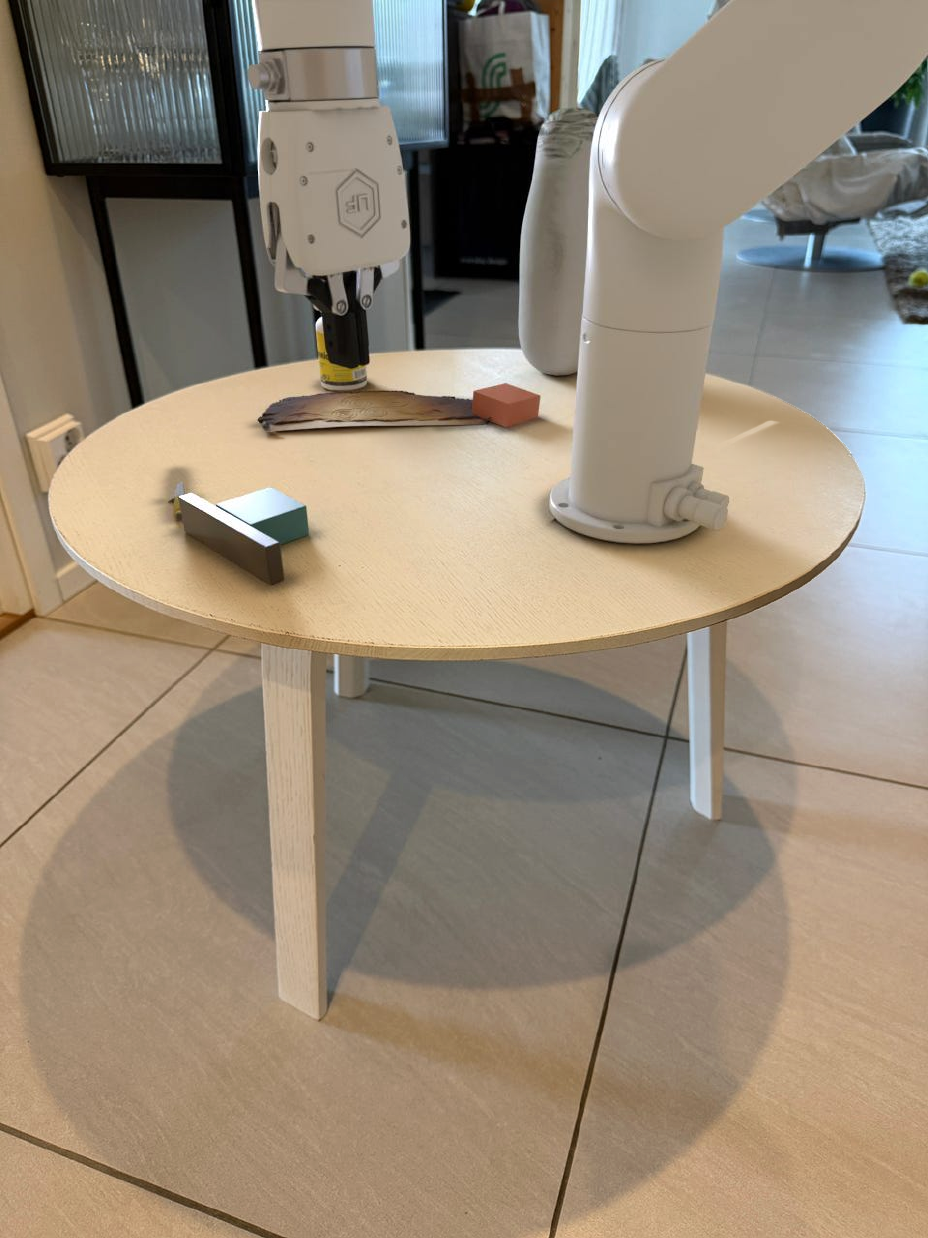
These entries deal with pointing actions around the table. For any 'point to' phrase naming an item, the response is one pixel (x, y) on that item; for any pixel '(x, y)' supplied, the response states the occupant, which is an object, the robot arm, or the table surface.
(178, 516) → the dagger
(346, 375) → the supplement bottle
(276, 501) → the tile
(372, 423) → the parchment
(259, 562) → the stop bar
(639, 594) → the table surface
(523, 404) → the tile
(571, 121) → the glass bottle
